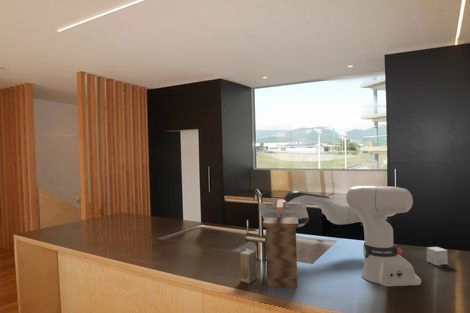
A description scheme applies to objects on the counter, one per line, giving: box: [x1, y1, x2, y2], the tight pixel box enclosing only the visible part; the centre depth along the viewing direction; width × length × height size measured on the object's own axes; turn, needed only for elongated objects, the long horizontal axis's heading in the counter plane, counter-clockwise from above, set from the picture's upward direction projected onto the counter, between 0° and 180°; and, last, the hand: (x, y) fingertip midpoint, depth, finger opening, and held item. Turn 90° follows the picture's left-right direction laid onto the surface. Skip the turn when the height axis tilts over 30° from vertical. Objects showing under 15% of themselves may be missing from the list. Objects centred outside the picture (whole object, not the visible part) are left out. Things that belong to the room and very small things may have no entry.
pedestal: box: [262, 217, 299, 289], centre depth 130 cm, size 14×12×26 cm
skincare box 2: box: [426, 246, 449, 265], centre depth 147 cm, size 6×6×7 cm
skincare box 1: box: [239, 249, 258, 284], centre depth 133 cm, size 6×4×12 cm
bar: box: [276, 198, 284, 213], centre depth 135 cm, size 2×21×2 cm, turn 171°
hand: (280, 202), depth 141 cm, fingers closed on bar, 2 cm apart
